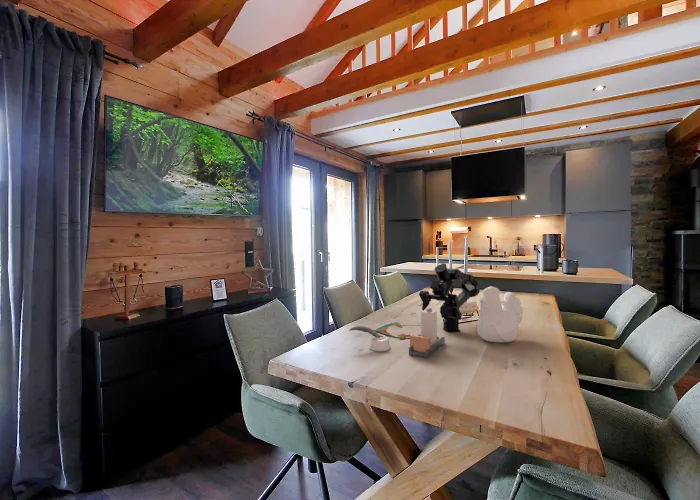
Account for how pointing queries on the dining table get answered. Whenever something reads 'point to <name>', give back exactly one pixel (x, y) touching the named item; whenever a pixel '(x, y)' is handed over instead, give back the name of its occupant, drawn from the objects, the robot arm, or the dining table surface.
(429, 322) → the block
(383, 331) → the ribbon cable
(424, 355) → the rail
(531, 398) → the dining table surface
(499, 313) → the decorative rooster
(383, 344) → the inkwell
